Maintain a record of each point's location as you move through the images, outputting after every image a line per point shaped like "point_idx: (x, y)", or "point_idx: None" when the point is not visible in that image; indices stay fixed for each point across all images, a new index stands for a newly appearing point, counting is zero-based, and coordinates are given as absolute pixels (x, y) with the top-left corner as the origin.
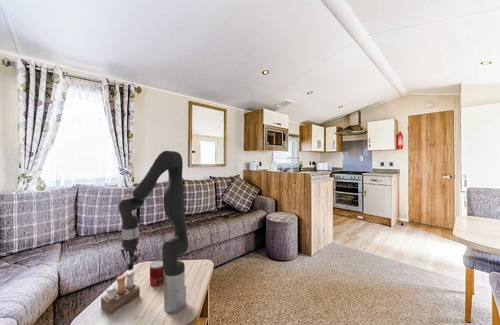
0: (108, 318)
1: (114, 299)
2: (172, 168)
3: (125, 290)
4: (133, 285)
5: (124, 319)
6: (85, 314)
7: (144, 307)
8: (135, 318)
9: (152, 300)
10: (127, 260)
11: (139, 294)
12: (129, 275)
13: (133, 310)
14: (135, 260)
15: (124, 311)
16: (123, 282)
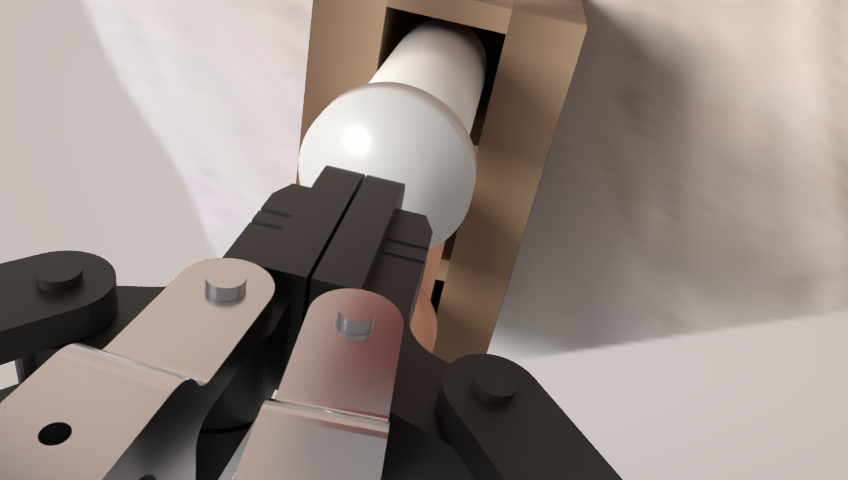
0: (512, 341)
1: (456, 324)
2: None
3: None
4: (472, 54)
5: (678, 325)
6: None
7: (796, 150)
8: (789, 297)
9: (838, 9)
10: (234, 470)
11: (581, 2)
12: (441, 241)
13: (685, 218)
14: (527, 435)
15: (593, 249)
16: (428, 292)
